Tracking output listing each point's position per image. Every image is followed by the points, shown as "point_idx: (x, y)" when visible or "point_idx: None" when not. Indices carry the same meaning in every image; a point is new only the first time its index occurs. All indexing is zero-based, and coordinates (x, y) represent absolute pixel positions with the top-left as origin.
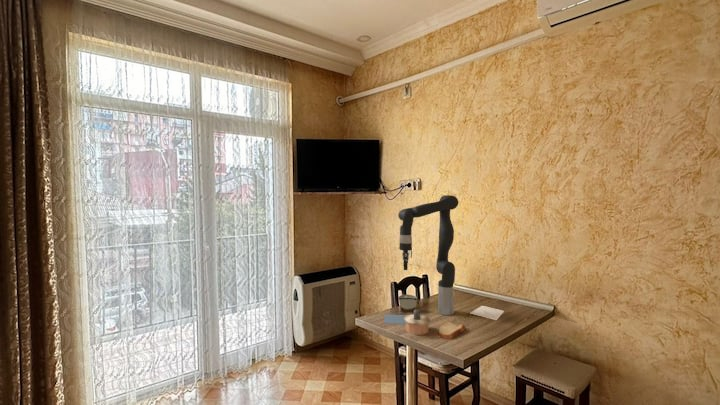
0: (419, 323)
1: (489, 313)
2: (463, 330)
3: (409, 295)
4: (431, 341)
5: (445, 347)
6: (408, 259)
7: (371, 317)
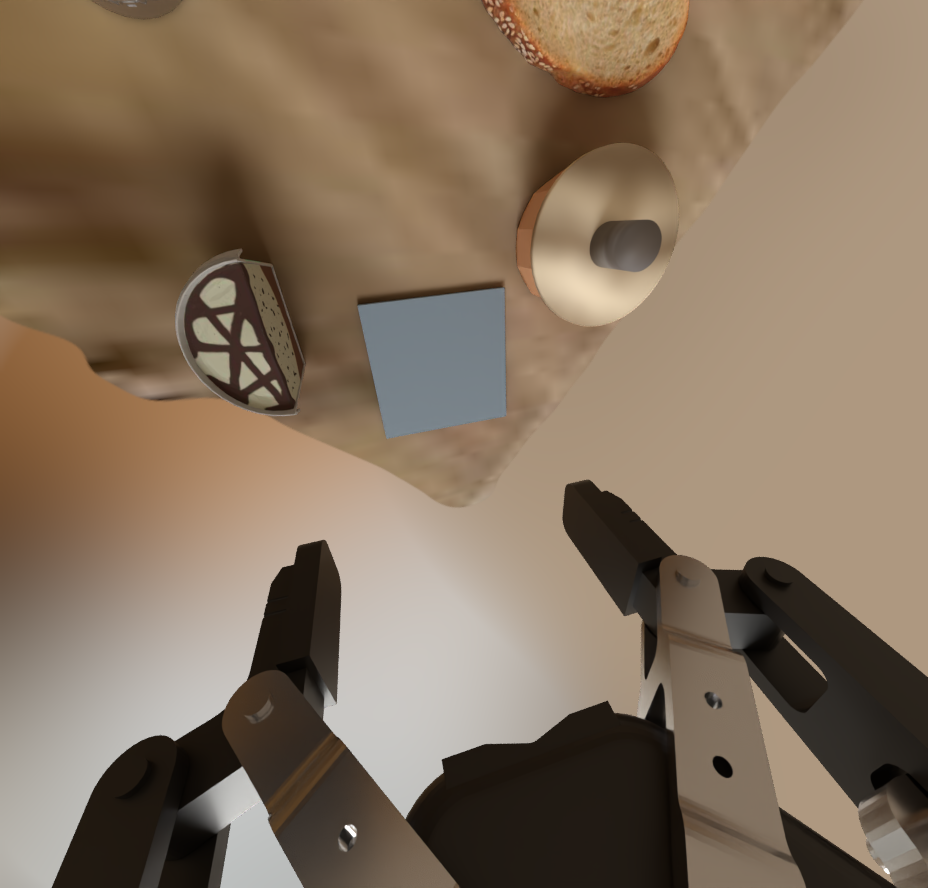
0: (677, 226)
1: None
2: None
3: (183, 339)
4: (687, 156)
5: (758, 71)
6: (734, 655)
7: (434, 480)
